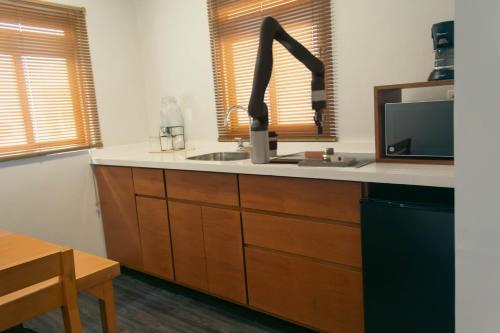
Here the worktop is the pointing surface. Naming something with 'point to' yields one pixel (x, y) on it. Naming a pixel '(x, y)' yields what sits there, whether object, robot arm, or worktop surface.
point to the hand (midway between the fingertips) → (320, 134)
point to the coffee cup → (272, 143)
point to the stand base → (329, 161)
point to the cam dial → (320, 154)
